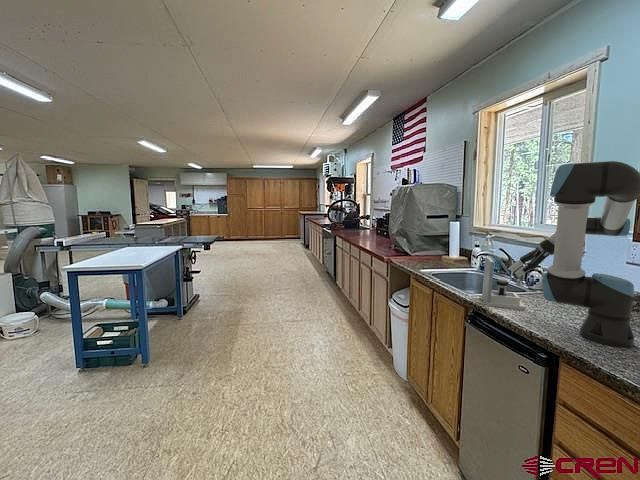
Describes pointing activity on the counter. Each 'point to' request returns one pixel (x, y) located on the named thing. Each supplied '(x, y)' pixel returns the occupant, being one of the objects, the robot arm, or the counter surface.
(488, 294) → the holder
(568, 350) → the counter surface
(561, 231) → the robot arm
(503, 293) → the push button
